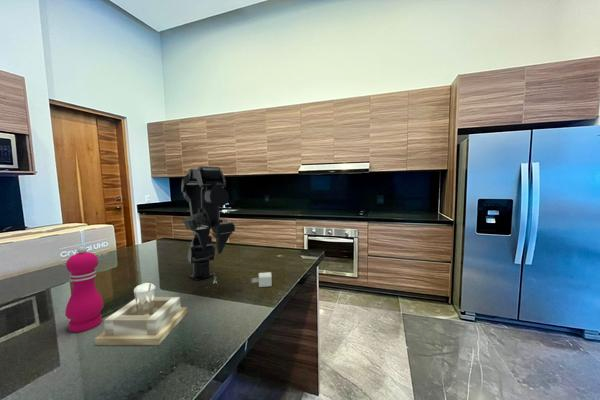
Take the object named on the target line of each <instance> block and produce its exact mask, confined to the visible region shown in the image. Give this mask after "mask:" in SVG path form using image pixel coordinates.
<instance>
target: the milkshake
mask: <svg viewBox="0 0 600 400" xmlns="http://www.w3.org/2000/svg"><path fill="white" fill-rule="evenodd" d="M133 293H134V294H133V295H134V299H135V301H136V308H137V315H153V314H154V303H155V297H156V285H155V284H153V283H152V282H151V283H150V282H143V283H141V284H139V285H136V286H135V287H134V289H133Z"/></svg>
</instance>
